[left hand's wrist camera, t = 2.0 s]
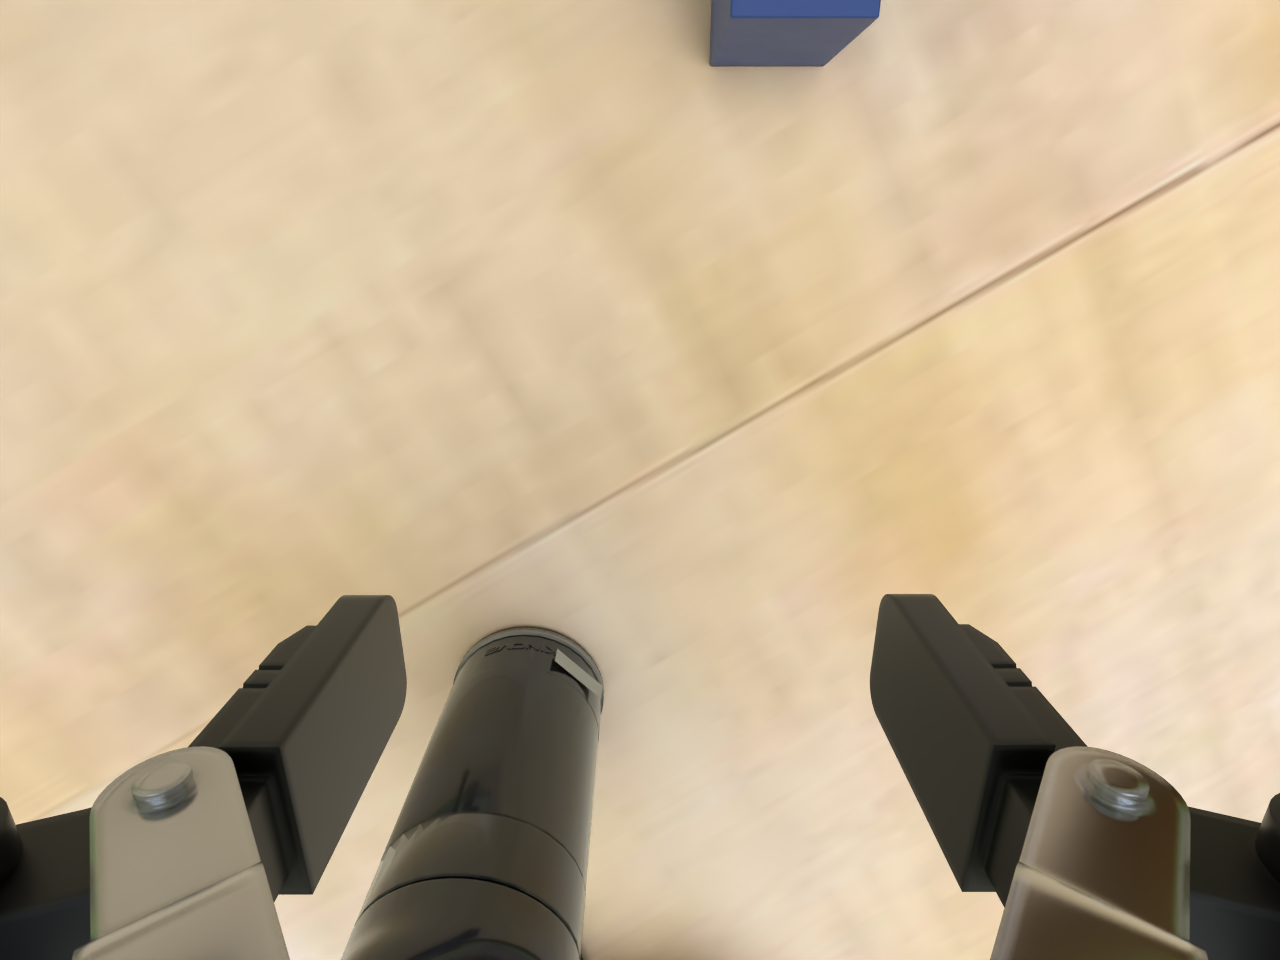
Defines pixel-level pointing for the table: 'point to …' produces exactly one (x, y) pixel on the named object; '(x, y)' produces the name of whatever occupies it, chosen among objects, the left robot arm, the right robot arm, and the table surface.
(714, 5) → the bar
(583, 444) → the table surface
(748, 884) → the table surface
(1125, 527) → the table surface
